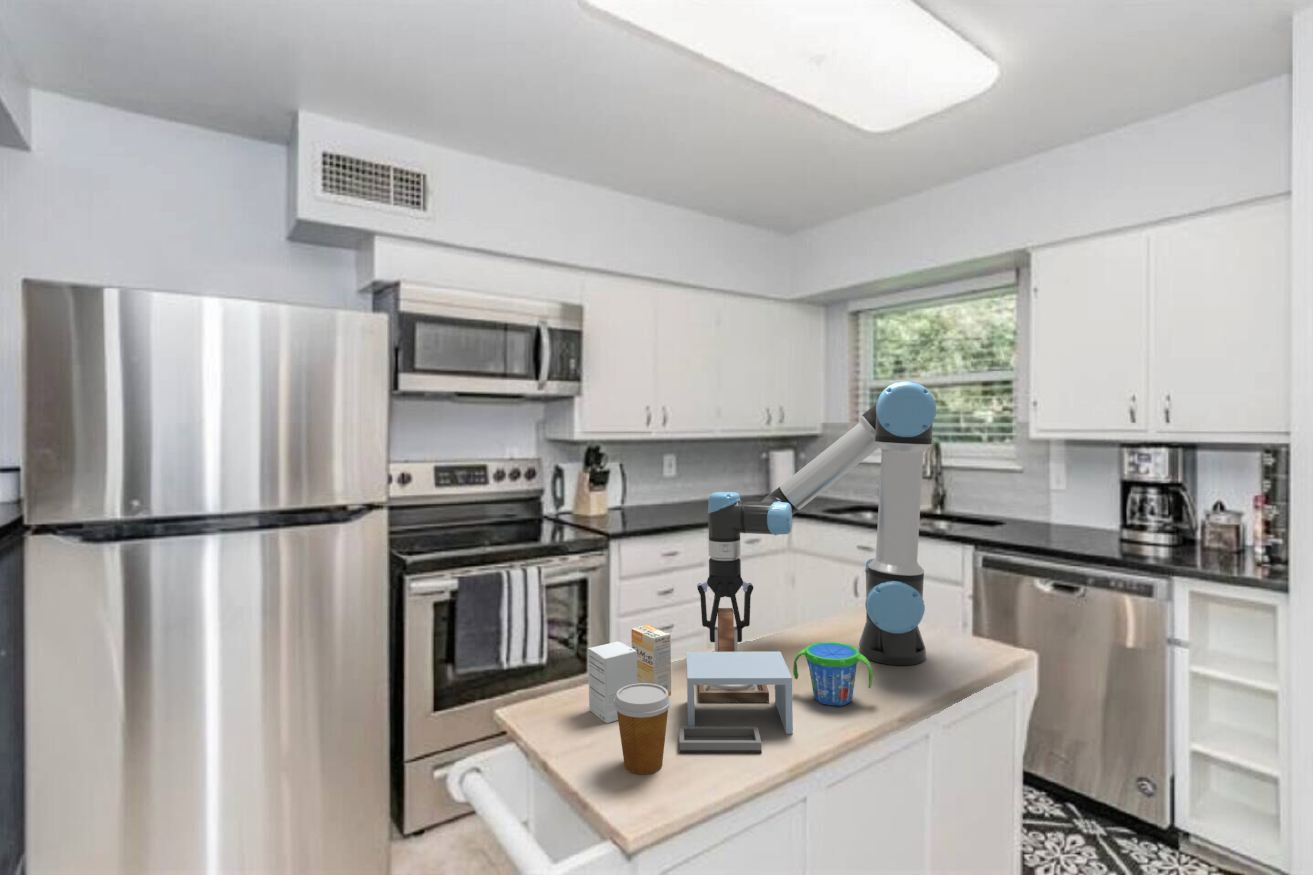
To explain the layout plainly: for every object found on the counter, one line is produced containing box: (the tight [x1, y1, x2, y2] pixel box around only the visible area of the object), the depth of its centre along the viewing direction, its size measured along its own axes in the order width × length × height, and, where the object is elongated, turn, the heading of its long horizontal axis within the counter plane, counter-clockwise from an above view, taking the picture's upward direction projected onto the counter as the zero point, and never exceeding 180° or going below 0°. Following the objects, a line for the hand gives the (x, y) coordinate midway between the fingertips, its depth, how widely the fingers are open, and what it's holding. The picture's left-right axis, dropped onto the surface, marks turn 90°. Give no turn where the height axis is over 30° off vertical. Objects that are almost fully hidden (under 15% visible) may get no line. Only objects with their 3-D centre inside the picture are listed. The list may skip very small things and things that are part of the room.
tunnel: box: [686, 651, 794, 735], centre depth 128 cm, size 19×14×10 cm
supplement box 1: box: [587, 641, 638, 724], centre depth 131 cm, size 7×7×13 cm
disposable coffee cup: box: [614, 683, 672, 775], centre depth 110 cm, size 10×10×12 cm
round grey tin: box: [707, 685, 757, 691], centre depth 141 cm, size 10×10×4 cm
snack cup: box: [792, 641, 874, 707], centre depth 135 cm, size 16×10×10 cm
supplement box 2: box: [630, 624, 672, 696], centre depth 140 cm, size 8×5×13 cm, turn 37°
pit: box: [678, 726, 763, 754], centre depth 117 cm, size 14×6×2 cm, turn 88°
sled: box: [697, 607, 770, 703], centre depth 147 cm, size 14×26×12 cm, turn 178°
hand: (726, 655), depth 159 cm, fingers open, 4 cm apart
